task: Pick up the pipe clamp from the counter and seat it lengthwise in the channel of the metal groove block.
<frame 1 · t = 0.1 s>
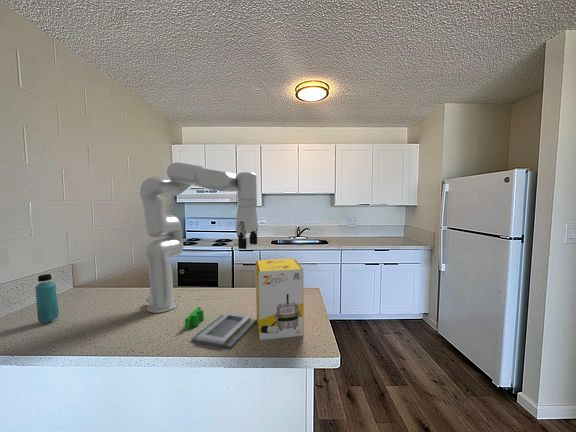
hand: (248, 246, 107), 31 cm above the countertop, tool pointing down, fingers open, 9 cm apart
beverage bottle: (48, 322, 110), on the countertop
pipe clamp: (196, 323, 108), on the countertop
packaging box: (278, 327, 104), on the countertop
groove block: (226, 331, 101), on the countertop
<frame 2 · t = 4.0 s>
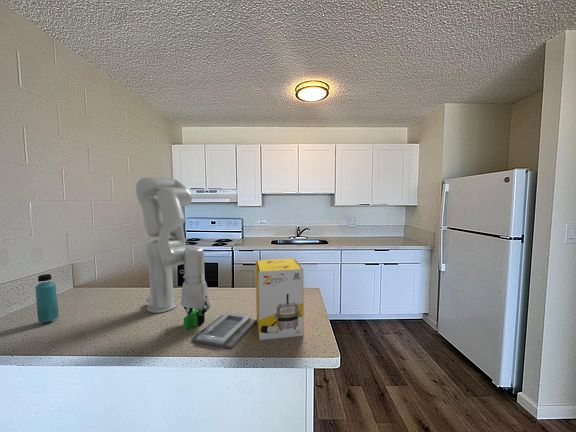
hand: (196, 322, 108), 0 cm above the countertop, tool pointing down, fingers closed on pipe clamp, 4 cm apart
pipe clamp: (195, 323, 108), on the countertop, touching gripper
everything else where it was.
when the fingers open (3 cm above the countertop, at t = 9.4 s): pipe clamp drops 1 cm, resting on groove block.
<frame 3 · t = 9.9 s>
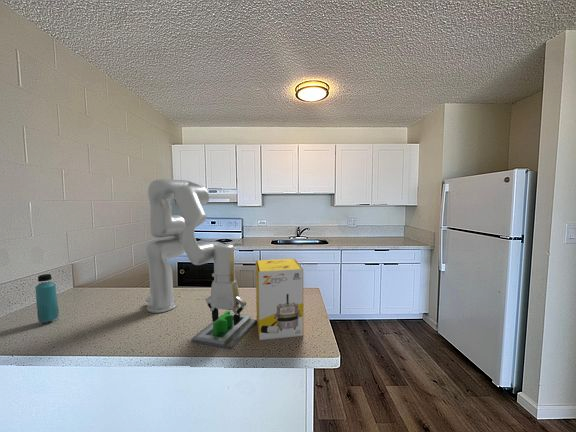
hand: (225, 321, 101), 4 cm above the countertop, tool pointing down, fingers open, 8 cm apart
pipe clamp: (224, 329, 101), point 1 cm above the countertop, touching groove block
everything else where it was.
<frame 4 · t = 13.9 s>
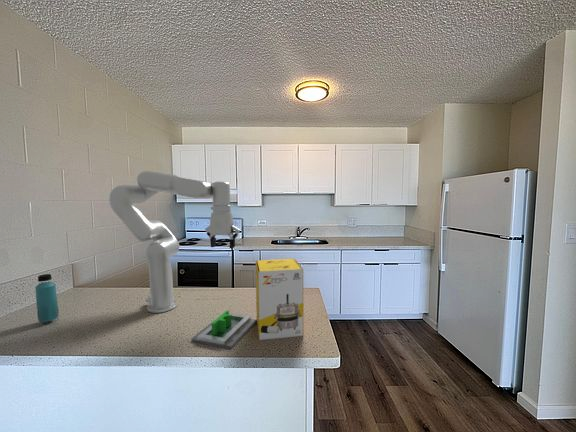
hand: (222, 247, 120), 28 cm above the countertop, tool pointing down, fingers open, 9 cm apart
nothing on the countertop moved.
at the end: pipe clamp inside the target area on the groove block (0.9 cm from its centre), point 0.8 cm above the groove block's base; the gripper is holding nothing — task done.
